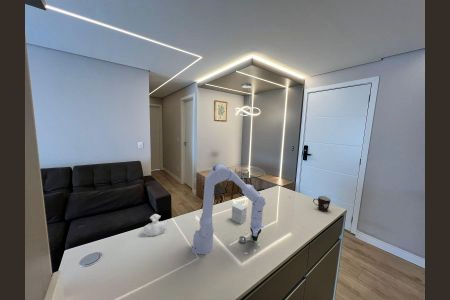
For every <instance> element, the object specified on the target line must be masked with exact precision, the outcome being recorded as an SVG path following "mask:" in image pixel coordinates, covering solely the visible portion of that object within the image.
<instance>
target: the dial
mask: <svg viewBox="0 0 450 300" xmlns="http://www.w3.org/2000/svg"><path fill="white" fill-rule="evenodd" d="M244 233H245V234H248V233H249V232H248V231H246V230H245V231H244ZM256 242H257V247H261V246H260V240H259V238H258V239H257V241H256ZM257 251H258V250H257V249H253V250H252V252H253V253H256V252H257ZM243 255H249V252H247V251H245V252H243Z"/></svg>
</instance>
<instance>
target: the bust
mask: <svg viewBox="0 0 450 300" xmlns="http://www.w3.org/2000/svg"><path fill="white" fill-rule="evenodd" d="M161 216H162V215H159V214H157V213H154V214H152V215H151V216H150V217H149V219H150V220H151V221H152V222H151V223H148V224H146V225H144V227H143V232H144V235H145V236H148V237H153V236H160V235H161V234H163V233H165V232H166V230H167V225H168V224H167V223H166V222H163V221H159V219H161Z"/></svg>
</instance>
